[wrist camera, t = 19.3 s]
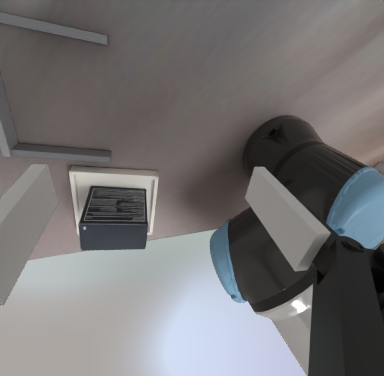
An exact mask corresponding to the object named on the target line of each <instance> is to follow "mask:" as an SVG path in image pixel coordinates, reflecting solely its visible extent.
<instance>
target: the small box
mask: <svg viewBox="0 0 384 376" xmlns="http://www.w3.org/2000/svg"><path fill="white" fill-rule="evenodd" d="M146 193H147V190H146V189H138V188H121V187H104V186H91V187H90V188H89V193H88V196H87V199H86V202H85V206H84V209H83V212H82V215H81V218H80V221H79V223H78V228H79V237H80V246H81V250H82V251H83V250H122V249H145V247H146V240H147V233H148V218H147V197H146Z"/></svg>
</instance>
